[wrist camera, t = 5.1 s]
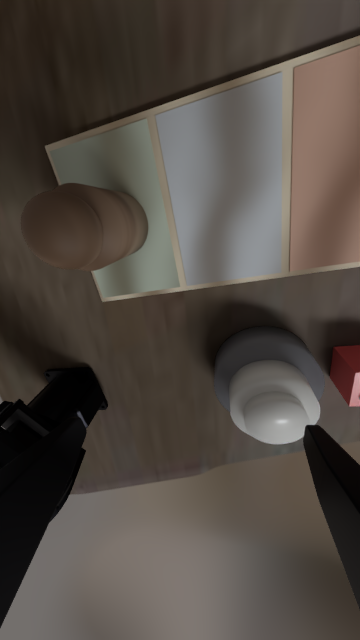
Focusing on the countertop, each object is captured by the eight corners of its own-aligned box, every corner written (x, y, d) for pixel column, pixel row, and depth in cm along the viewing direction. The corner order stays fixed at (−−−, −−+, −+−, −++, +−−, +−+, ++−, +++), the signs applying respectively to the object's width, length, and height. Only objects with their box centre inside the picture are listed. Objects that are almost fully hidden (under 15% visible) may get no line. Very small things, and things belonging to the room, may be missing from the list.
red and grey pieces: (220, 399, 24) (220, 431, 21) (209, 330, 20) (207, 355, 17) (367, 397, 21) (396, 434, 17) (386, 314, 17) (428, 340, 14)
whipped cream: (232, 415, 20) (234, 450, 17) (225, 362, 18) (226, 392, 15) (305, 415, 19) (322, 454, 16) (310, 357, 16) (330, 389, 13)
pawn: (104, 259, 18) (23, 292, 11) (84, 199, 16) (-33, 188, 9) (154, 249, 17) (103, 279, 10) (139, 184, 15) (60, 158, 8)
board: (105, 299, 21) (101, 302, 20) (50, 148, 16) (43, 145, 15) (403, 257, 15) (411, 259, 15) (465, 5, 10) (481, -9, 10)
